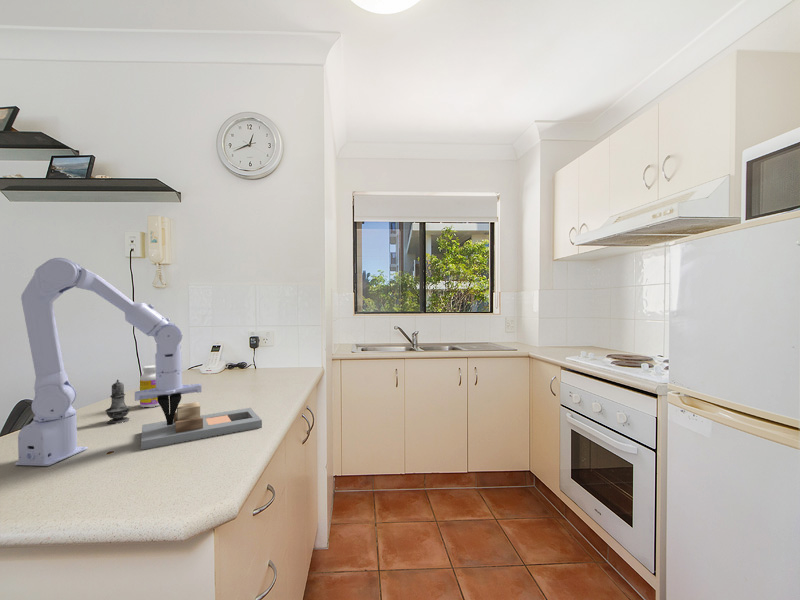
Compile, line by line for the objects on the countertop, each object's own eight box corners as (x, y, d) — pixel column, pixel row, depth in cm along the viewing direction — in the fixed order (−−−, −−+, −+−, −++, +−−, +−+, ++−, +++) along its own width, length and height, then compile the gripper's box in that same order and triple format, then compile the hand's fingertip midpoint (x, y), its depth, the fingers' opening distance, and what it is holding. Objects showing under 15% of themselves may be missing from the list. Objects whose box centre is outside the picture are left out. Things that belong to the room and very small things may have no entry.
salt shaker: (135, 418, 115) (135, 377, 114) (119, 424, 109) (118, 381, 109) (117, 417, 115) (116, 377, 115) (100, 424, 109) (99, 381, 109)
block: (178, 429, 98) (177, 409, 98) (176, 423, 102) (176, 404, 102) (200, 425, 101) (200, 406, 101) (198, 420, 105) (198, 401, 105)
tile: (208, 432, 101) (208, 425, 101) (205, 425, 107) (205, 418, 107) (231, 428, 104) (231, 421, 104) (227, 421, 110) (227, 415, 110)
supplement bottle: (150, 409, 124) (149, 368, 124) (135, 407, 126) (134, 367, 126) (168, 403, 130) (168, 364, 130) (153, 402, 132) (153, 364, 132)
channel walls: (175, 432, 95) (175, 422, 95) (173, 421, 104) (173, 412, 104) (203, 428, 99) (202, 418, 99) (198, 417, 107) (198, 408, 107)
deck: (141, 449, 90) (141, 441, 90) (142, 432, 102) (142, 424, 102) (261, 427, 105) (261, 419, 105) (250, 414, 117) (250, 407, 117)
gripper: (133, 377, 92) (134, 434, 92) (202, 369, 100) (203, 422, 100) (134, 372, 98) (135, 426, 98) (199, 366, 106) (200, 416, 106)
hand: (169, 424), depth 99 cm, fingers closed
